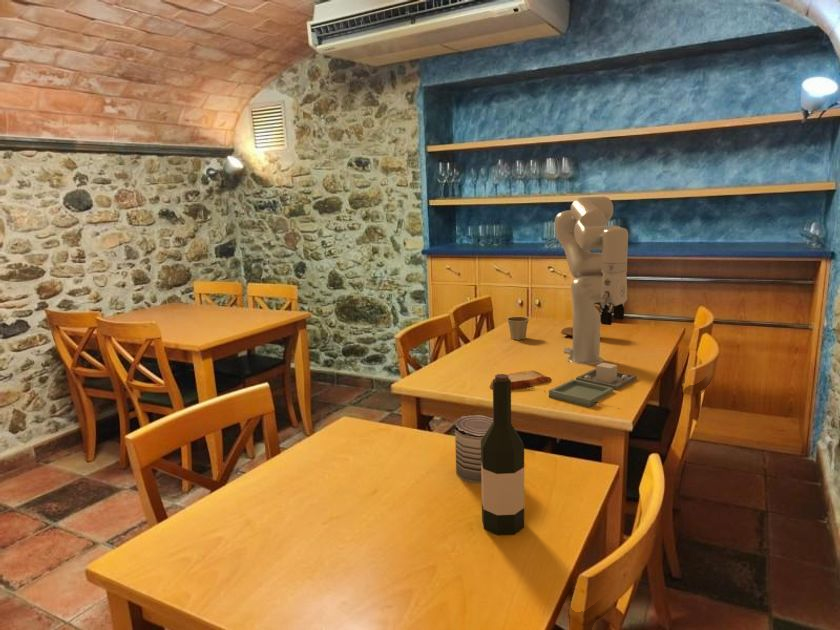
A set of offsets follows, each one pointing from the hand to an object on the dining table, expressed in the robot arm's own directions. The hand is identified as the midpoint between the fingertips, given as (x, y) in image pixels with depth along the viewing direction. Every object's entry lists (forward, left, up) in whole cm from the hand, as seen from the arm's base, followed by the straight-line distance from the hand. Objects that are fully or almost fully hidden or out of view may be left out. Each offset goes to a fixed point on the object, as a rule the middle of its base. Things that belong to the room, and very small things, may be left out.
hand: (612, 321), depth 188 cm
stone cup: (-39, +50, -21) cm, 67 cm away
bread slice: (-23, -18, -22) cm, 36 cm away
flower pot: (-59, +31, -21) cm, 70 cm away
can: (+6, -75, -21) cm, 78 cm away
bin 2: (-2, 0, -21) cm, 21 cm away
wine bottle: (+23, -89, -21) cm, 94 cm away
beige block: (-2, 0, -20) cm, 20 cm away
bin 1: (-2, -16, -21) cm, 26 cm away
